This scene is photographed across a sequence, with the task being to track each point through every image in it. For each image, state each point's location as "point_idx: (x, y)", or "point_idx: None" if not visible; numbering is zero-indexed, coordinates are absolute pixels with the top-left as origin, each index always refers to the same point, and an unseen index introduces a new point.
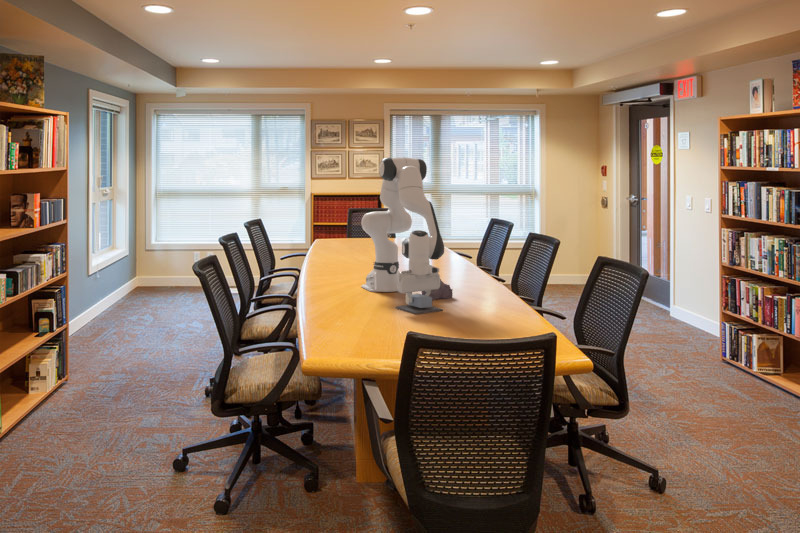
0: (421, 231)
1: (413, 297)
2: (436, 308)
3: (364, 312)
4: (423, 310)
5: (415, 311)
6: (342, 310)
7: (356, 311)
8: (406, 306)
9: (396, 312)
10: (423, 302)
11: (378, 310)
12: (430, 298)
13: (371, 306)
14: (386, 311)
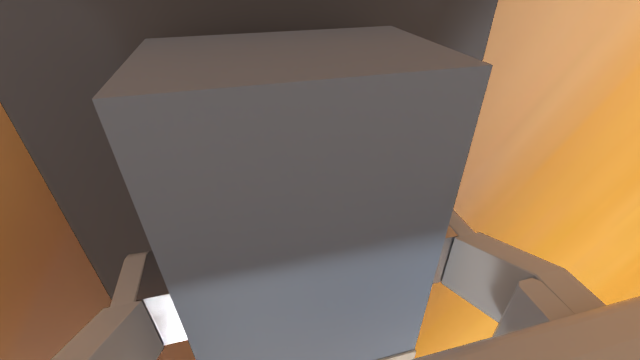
0: None
1: (429, 263)
2: (44, 34)
3: (634, 224)
4: (331, 5)
5: (457, 7)
6: (635, 290)
7: (628, 257)
8: None
9: (525, 146)
10: (365, 48)
11: (542, 247)
12: (163, 85)
13: (477, 337)
14: (538, 206)
